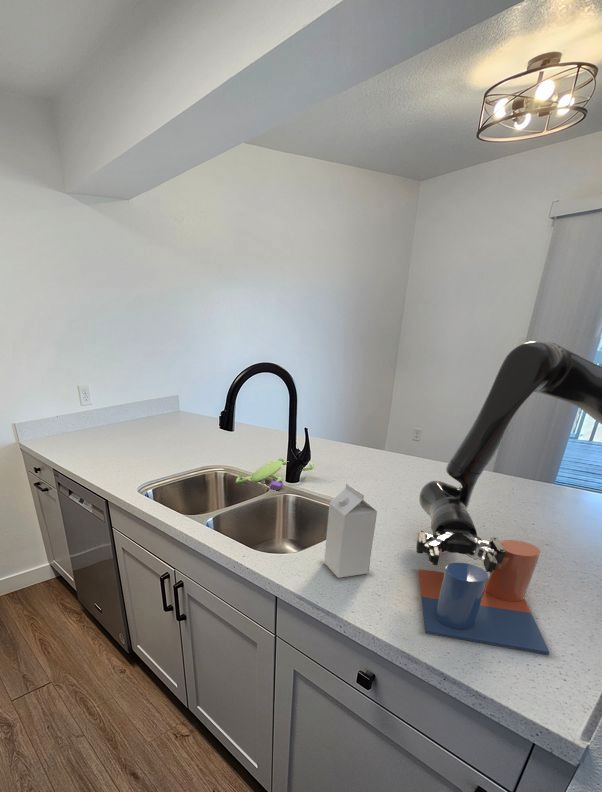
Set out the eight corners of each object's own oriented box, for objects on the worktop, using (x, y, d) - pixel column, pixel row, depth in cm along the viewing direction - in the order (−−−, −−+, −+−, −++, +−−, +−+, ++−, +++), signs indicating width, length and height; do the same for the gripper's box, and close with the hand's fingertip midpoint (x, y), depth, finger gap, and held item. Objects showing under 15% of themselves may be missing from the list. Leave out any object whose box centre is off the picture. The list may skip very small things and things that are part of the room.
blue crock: (471, 611, 80) (484, 565, 76) (477, 632, 75) (491, 584, 71) (433, 605, 83) (443, 560, 78) (435, 625, 77) (447, 578, 73)
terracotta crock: (520, 586, 87) (535, 542, 82) (528, 604, 81) (545, 558, 77) (483, 581, 89) (495, 538, 84) (488, 598, 84) (502, 553, 79)
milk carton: (352, 558, 101) (361, 481, 93) (368, 574, 95) (380, 492, 86) (323, 563, 100) (330, 485, 92) (337, 578, 94) (346, 496, 85)
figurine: (321, 477, 153) (322, 461, 151) (268, 496, 139) (268, 480, 137) (281, 466, 166) (282, 452, 164) (229, 483, 152) (229, 467, 150)
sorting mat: (516, 584, 88) (516, 581, 88) (548, 654, 70) (549, 652, 70) (418, 571, 95) (419, 569, 95) (425, 633, 77) (425, 630, 76)
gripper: (417, 507, 91) (422, 540, 78) (496, 513, 87) (516, 551, 73) (411, 538, 95) (415, 576, 82) (487, 547, 90) (504, 588, 77)
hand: (463, 564), depth 77 cm, fingers open, 8 cm apart
